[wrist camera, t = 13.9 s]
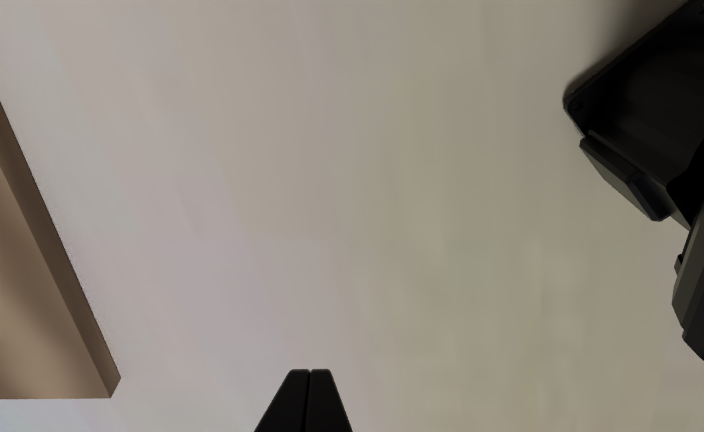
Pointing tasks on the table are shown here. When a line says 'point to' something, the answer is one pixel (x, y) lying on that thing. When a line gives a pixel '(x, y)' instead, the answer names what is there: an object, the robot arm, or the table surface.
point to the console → (42, 299)
